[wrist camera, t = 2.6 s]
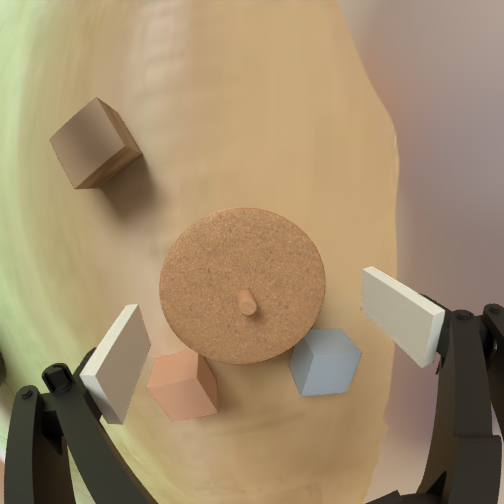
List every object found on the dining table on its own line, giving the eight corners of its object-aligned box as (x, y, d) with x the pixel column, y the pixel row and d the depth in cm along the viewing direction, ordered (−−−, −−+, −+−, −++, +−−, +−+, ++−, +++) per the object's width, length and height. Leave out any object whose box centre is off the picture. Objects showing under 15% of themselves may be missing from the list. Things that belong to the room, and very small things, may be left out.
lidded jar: (260, 332, 26) (281, 395, 17) (158, 289, 24) (131, 343, 15) (314, 235, 25) (366, 263, 16) (207, 180, 22) (202, 175, 13)
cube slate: (288, 366, 28) (301, 396, 23) (298, 328, 27) (314, 355, 22) (329, 365, 29) (346, 392, 24) (341, 328, 28) (361, 352, 23)
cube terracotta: (175, 390, 27) (171, 422, 22) (155, 358, 26) (146, 388, 21) (216, 381, 27) (218, 412, 22) (198, 346, 26) (196, 377, 21)
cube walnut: (100, 188, 21) (74, 189, 16) (76, 146, 20) (49, 139, 15) (143, 153, 21) (124, 145, 16) (117, 112, 20) (96, 96, 15)
